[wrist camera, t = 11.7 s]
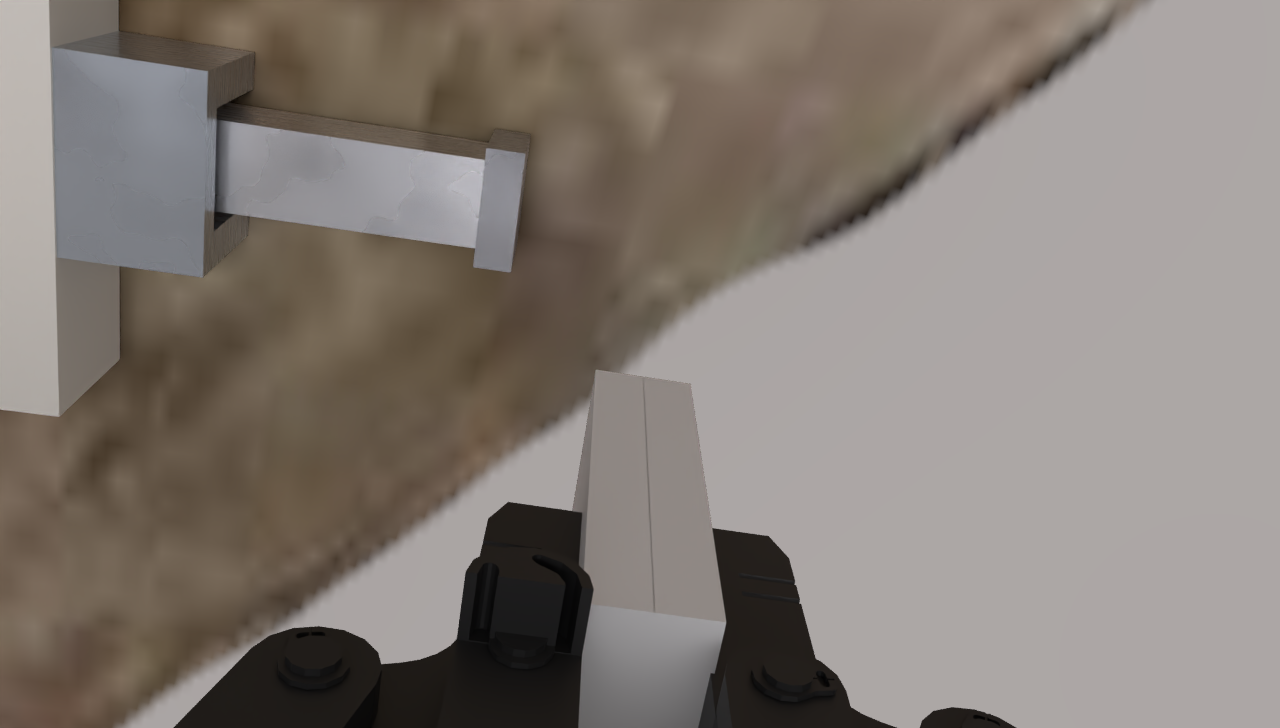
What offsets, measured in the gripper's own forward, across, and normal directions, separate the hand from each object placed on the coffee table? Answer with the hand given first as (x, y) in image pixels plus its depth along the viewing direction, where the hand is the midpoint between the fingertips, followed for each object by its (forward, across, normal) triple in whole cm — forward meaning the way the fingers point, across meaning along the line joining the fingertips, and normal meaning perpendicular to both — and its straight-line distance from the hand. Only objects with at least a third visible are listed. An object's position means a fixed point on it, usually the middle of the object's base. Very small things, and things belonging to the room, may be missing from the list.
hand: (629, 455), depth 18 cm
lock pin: (+16, -8, 0) cm, 18 cm away
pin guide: (+16, -12, 0) cm, 20 cm away
